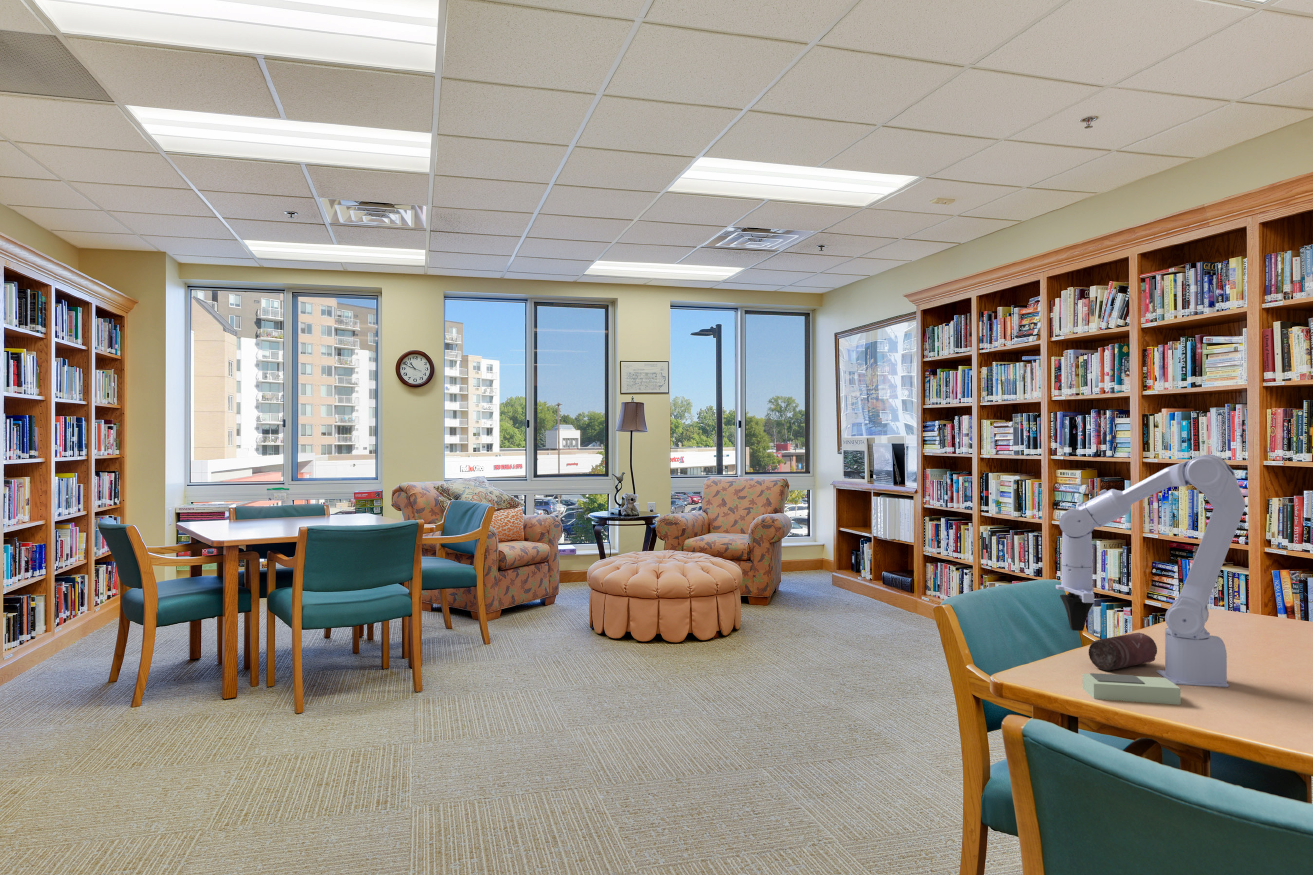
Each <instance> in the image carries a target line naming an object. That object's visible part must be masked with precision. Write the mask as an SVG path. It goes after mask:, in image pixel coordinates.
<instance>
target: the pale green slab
mask: <svg viewBox="0 0 1313 875" xmlns="http://www.w3.org/2000/svg"><path fill="white" fill-rule="evenodd" d="M1082 690H1084V691H1085V693H1087V694H1088V695H1089V696H1090V697H1091V698H1093V699H1094V700H1104V699H1105V700H1104V701H1106V700H1108V701H1119V700H1121V701H1122V700H1123V702H1134V703H1136V702H1137V703H1150V704H1151V703H1152V704H1165V705H1182V704H1181V702H1182V700H1181V696H1182V694H1181V693H1182V692H1181V690H1182V689H1181V687H1179V686H1178V684H1174V683H1172V682H1171V681H1169V680H1168V679H1167V678H1164V677H1158V676H1157V677H1155V676H1153V677H1152V676H1140V675H1139V676H1136V675H1131V674H1113V673H1094V672H1091V673H1090V672H1089V673H1082ZM1135 701H1136V702H1135Z"/></svg>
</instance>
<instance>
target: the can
mask: <svg viewBox="0 0 1313 875" xmlns="http://www.w3.org/2000/svg"><path fill="white" fill-rule="evenodd" d="M1157 654H1158V646H1157V643H1156V642H1155V640H1154V639H1153V638H1152V637H1151V636H1150V635H1147V634H1145V633H1141V632H1133V633H1132V632H1131V633H1128V634H1122V635H1117V636H1111V637H1106V638H1101V639H1095V640H1094V641H1092V642H1091V643H1090V646H1089V648H1088V656H1089V660H1090V661H1091V663H1092V664H1093V665H1094V666H1095V668H1096V667H1097V668H1098V669H1099V670H1101V671H1105V672H1106V671H1109V672H1110V671H1113V670H1119V669H1122V668H1127V667H1128V668H1129V667H1133V666H1136V665H1143V664H1147V663H1148V664H1149V663H1152V662H1154V661H1156V656H1157Z"/></svg>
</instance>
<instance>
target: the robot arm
mask: <svg viewBox="0 0 1313 875" xmlns="http://www.w3.org/2000/svg"><path fill="white" fill-rule="evenodd" d="M1189 485H1192V486H1193V487H1194V488H1196V489H1197V490H1199V491H1200V492H1201V493H1202V494H1203V495H1204V497H1205V498H1206V499H1207V502H1208V503H1210V505H1211V507H1212V508H1213V510H1212V513H1211V514H1210V517H1209V520H1208V522H1207V525H1206V527H1205V530H1204V533H1203V535H1202V538H1201V539H1200V540H1201V541H1200V543H1199V546H1198V548H1197V551H1196V553H1195V555H1194V558H1193V561H1192V564H1191V566H1190V569H1189V571H1188V573H1187V575H1186V576H1187V577H1186V579H1185V581H1184V585H1183V586H1182V588H1181V590H1180V592H1179V595H1178V598H1176V599H1175V600H1173V602H1172V603H1171V605H1170V607H1169V608H1168V609H1167V610H1166V612H1165V616H1164V620H1165V624H1166V625H1167V628H1166V627H1165V629H1164V631H1165V632H1164V641H1165V642H1164V643H1165V644H1164V651H1165V653H1164V654H1165V655H1164V656H1165V657H1164V659H1165V660H1164V662H1165V663H1164V664H1165V665H1164V666H1165V667H1164V668H1165V670H1164V669H1157V670H1156V673H1157V674H1159V675H1160V676H1161V677H1162V678H1167V679H1168V680H1169V681H1171V682H1172V683H1174V684H1175V685H1177V686H1178V685H1179V686H1180V685H1181V686H1198V687H1220V688H1229V685H1230V684H1229V683H1228V682H1227V680H1228V677H1227V676H1228V670H1227V668H1228V667H1227V666H1228V664H1227V663H1228V661H1227V660H1228V659H1227V658H1228V656H1227V648H1226V645H1225V643H1224V640H1223V639H1222V638H1221V637H1220V636H1217V635H1211V633H1210V631H1208V630H1207V629H1206V628H1205V626H1206V623H1207V621H1208V620H1209V608H1208V603H1209V600H1210V597H1211V596H1212V593H1213V590H1214V587H1215V585H1216V582H1217V579H1218V577H1219V574H1220V572H1221V569H1222V567H1223V564H1224V562H1225V560H1226V557H1227V554H1228V551H1229V549H1230V547H1231V544H1232V542H1233V539H1234V537H1235V535H1236V532H1237V529H1238V527H1239V524H1240V521H1241V519H1242V517H1243V514H1244V512H1245V509H1246V501H1245V498H1244V496H1243V493H1242V491H1241V488H1240V485H1239V482H1238V479H1237V477H1236V472H1235V471H1234V470H1233V468H1232V467H1231V466H1230V465H1229V464H1228V463H1227V462H1226V461H1225V460H1224V458H1221V457H1220V456H1218V455H1216V454H1215V455H1214V454H1204V455H1202V454H1201V455H1198V456H1196V457H1194V458H1192V459H1191V460H1185V461H1183V462H1180V463H1177V464H1173V465H1171V466H1167V467H1165V468H1163V469H1161V470H1159V471H1158V472H1156V473H1154V474H1152V475H1150V476H1148V477H1147V478H1144V479H1143V480H1141V481H1139V482H1137V483H1135V484H1133V485H1132V486H1130V487H1127V488H1126V489H1124V490H1117V489H1115V488H1111V489H1109V490H1107V489H1102V490H1101V491H1099V492H1098V495H1097V496H1095V497H1092V498H1091V499H1088V500H1087V501H1085V502H1084V501H1080V502H1078V503H1077V507H1076V508H1070V509H1067V510H1066V511H1065V512H1063V514H1061V516H1060V518H1059V521H1058V523H1059V524H1058V525H1059V528H1060V530H1061V532H1062V535H1061V536H1062V537H1061V538H1062V542H1061V581H1060V583H1061V584H1055V589H1056V590H1060V591H1065V592H1068V593H1067V594H1060V595H1059V598H1060V600H1061V601H1062V604H1063V605H1064V609H1065V611H1066V615H1067V619H1068V620H1067V621H1068V625H1069V627H1070V628H1069V629H1071V631H1073V632H1074V631H1075V632H1076V631H1077V632H1083V631H1084V629H1085V626H1086V623H1087V618H1088V615H1089V612H1090V610H1091V608H1092V607H1093V606H1094V604H1095V593H1094V588H1095V587H1093V572H1094V571H1093V570H1094V569H1093V550H1094V549H1093V543H1092V542H1093V539H1092V537H1093V534H1092V532H1094V529H1095V528H1102V527H1103V526H1106V525H1107V524H1110V523H1112V522H1114V521H1116V520H1117V519H1120V518H1122V517H1124V516H1126V515H1128V514H1129V513H1130V510H1131V507H1132V505H1133V504H1135V503H1137V502H1139V501H1142V500H1143V499H1145V498H1148V497H1150V496H1152V495H1154V494H1157V493H1159V492H1161V491H1163V490H1165V489H1167V488H1171V487H1187V486H1189Z"/></svg>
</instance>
